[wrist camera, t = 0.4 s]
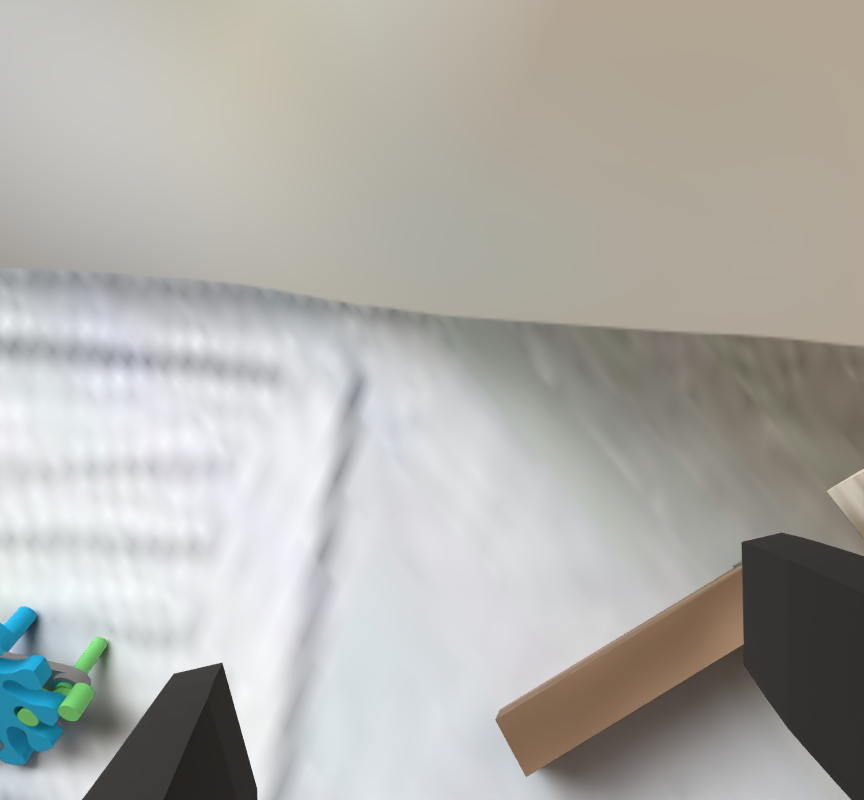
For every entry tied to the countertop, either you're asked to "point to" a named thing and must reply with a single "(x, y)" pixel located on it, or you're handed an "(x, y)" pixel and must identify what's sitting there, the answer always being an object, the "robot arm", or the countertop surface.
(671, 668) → the bed rail
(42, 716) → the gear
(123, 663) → the countertop surface
